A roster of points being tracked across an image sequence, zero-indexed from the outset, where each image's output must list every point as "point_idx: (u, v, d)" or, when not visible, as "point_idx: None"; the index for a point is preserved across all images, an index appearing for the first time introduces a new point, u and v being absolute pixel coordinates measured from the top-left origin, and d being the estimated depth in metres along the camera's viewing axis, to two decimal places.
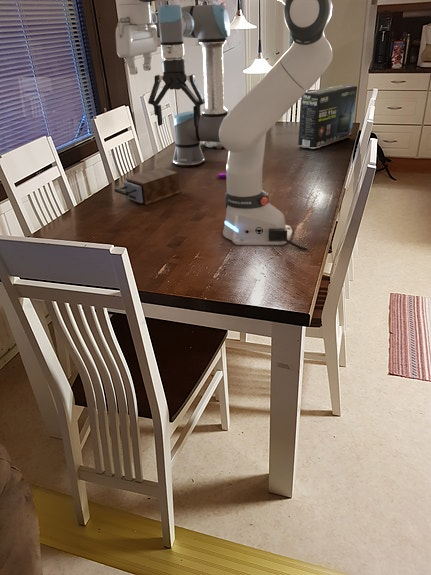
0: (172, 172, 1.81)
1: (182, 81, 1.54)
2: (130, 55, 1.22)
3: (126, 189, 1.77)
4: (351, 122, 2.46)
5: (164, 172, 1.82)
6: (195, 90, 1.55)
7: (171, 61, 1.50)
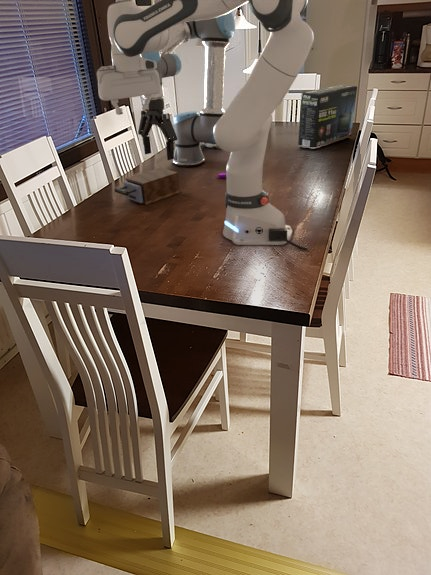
0: (172, 172, 1.81)
1: (158, 118, 1.68)
2: (107, 99, 1.37)
3: (126, 189, 1.77)
4: (351, 122, 2.46)
5: (164, 172, 1.82)
6: (166, 128, 1.67)
7: None
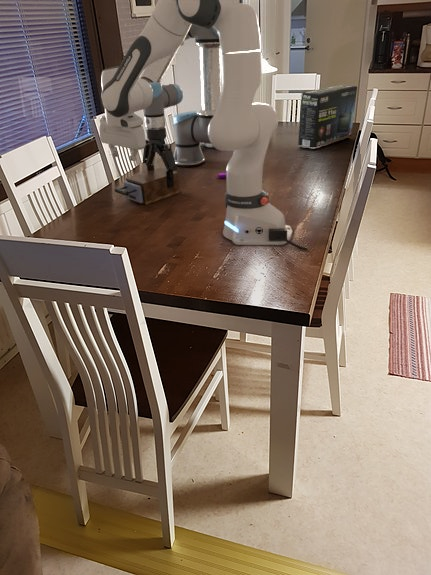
0: None
1: (160, 147, 1.74)
2: (102, 141, 1.66)
3: (126, 189, 1.77)
4: (351, 122, 2.46)
5: (164, 172, 1.82)
6: (167, 158, 1.73)
7: (149, 130, 1.71)
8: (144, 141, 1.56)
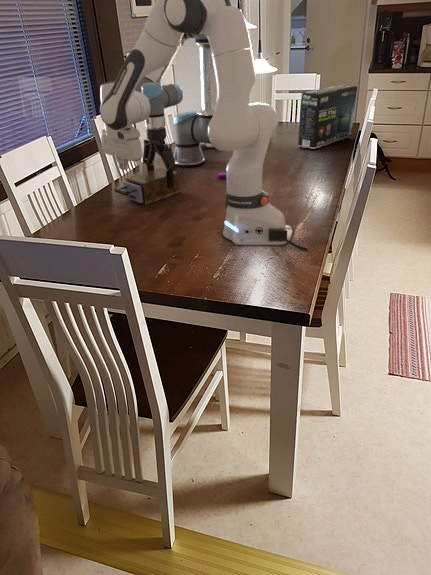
0: None
1: (160, 147, 1.74)
2: None
3: (126, 189, 1.77)
4: (351, 122, 2.46)
5: (164, 172, 1.82)
6: (167, 158, 1.73)
7: (149, 130, 1.71)
8: (140, 153, 1.60)
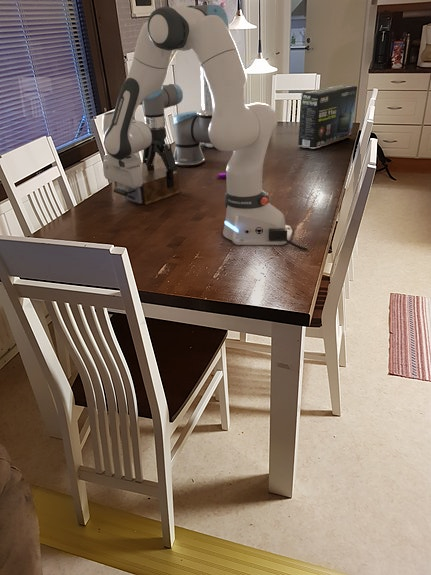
0: None
1: (160, 147, 1.74)
2: (105, 177, 1.75)
3: None
4: (351, 122, 2.46)
5: (164, 172, 1.82)
6: (167, 158, 1.73)
7: None
8: (141, 180, 1.64)
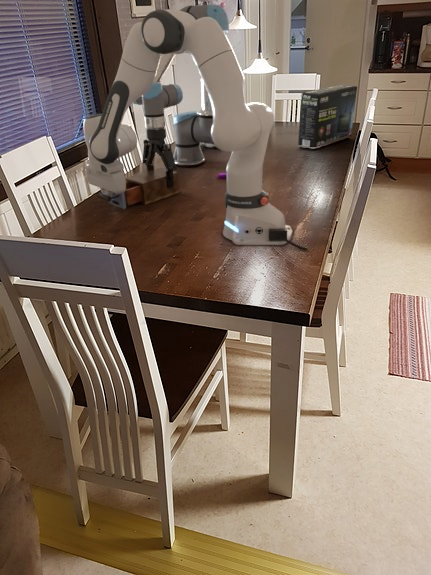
0: None
1: (160, 147, 1.74)
2: (88, 182, 1.71)
3: None
4: (351, 122, 2.46)
5: (164, 172, 1.82)
6: (167, 158, 1.73)
7: (149, 130, 1.71)
8: (124, 185, 1.60)
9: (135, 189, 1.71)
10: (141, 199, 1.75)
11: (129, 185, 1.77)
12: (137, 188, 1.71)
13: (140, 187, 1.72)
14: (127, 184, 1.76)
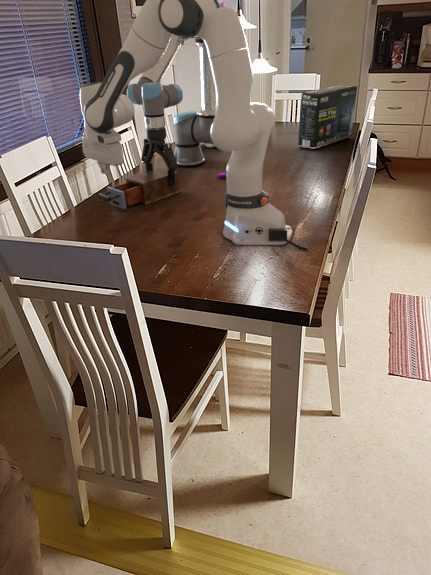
0: None
1: (160, 147, 1.74)
2: (85, 156, 1.66)
3: (109, 194, 1.72)
4: (351, 122, 2.46)
5: (164, 172, 1.82)
6: (168, 157, 1.73)
7: (149, 130, 1.71)
8: (122, 157, 1.55)
9: (135, 189, 1.71)
10: (141, 199, 1.75)
11: (129, 185, 1.77)
12: (137, 188, 1.71)
13: (140, 187, 1.72)
14: (127, 184, 1.76)
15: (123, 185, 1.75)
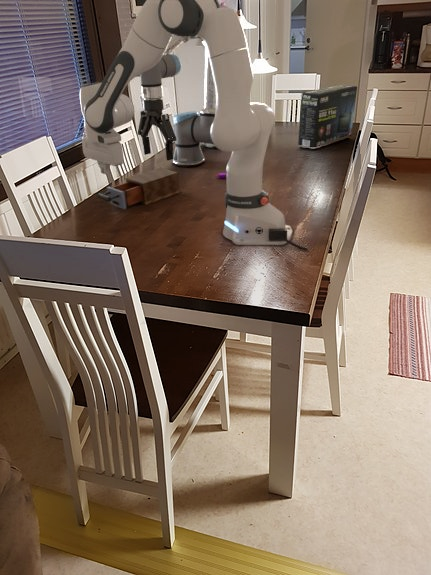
0: (172, 172, 1.81)
1: (157, 119, 1.69)
2: (85, 156, 1.66)
3: (109, 194, 1.72)
4: (351, 122, 2.46)
5: (164, 172, 1.82)
6: (166, 128, 1.67)
7: (146, 101, 1.65)
8: (122, 157, 1.55)
9: (135, 189, 1.71)
10: (141, 199, 1.75)
11: (129, 185, 1.77)
12: (137, 188, 1.71)
13: (140, 187, 1.72)
14: (127, 184, 1.76)
15: (123, 185, 1.75)
